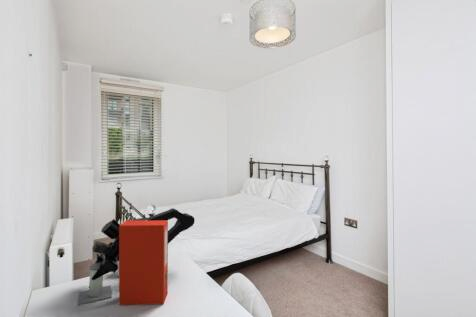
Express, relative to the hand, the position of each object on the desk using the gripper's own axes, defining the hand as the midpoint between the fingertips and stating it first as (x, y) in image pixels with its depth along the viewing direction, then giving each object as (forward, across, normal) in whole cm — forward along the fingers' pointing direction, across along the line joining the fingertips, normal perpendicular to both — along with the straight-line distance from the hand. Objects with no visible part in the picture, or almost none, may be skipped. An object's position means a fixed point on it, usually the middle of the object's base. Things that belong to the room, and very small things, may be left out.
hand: (91, 276), depth 107 cm
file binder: (-6, +15, +19) cm, 25 cm away
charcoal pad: (+5, 0, +7) cm, 9 cm away
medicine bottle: (-6, -13, +18) cm, 23 cm away
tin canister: (+5, 0, +7) cm, 8 cm away
